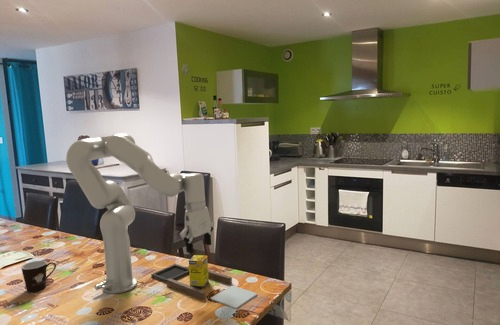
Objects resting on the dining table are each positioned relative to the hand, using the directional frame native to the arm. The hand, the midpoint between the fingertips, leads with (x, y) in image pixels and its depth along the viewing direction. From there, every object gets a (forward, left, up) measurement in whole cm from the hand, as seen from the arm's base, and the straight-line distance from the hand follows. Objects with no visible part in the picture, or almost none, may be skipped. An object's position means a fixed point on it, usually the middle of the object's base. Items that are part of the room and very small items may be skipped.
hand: (199, 248), depth 139 cm
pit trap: (0, +17, -15) cm, 23 cm away
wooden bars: (0, +1, -15) cm, 15 cm away
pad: (0, -17, -15) cm, 23 cm away
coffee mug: (-38, +52, -15) cm, 66 cm away
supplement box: (0, +1, -15) cm, 15 cm away
